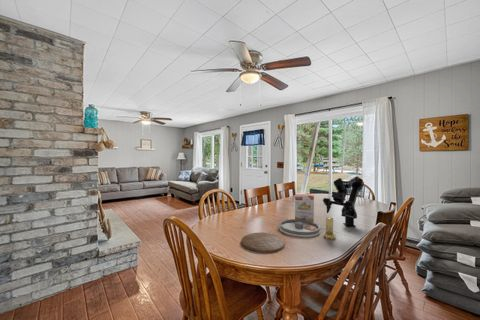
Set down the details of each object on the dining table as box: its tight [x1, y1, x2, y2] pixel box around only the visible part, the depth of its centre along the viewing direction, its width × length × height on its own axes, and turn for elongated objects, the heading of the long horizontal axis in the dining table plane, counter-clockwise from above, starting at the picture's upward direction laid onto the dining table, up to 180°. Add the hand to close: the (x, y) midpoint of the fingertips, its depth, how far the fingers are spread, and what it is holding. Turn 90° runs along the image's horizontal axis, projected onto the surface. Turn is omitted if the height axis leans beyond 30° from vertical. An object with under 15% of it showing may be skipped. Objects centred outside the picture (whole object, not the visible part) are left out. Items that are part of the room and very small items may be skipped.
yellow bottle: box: [323, 216, 337, 240], centre depth 127 cm, size 7×7×12 cm
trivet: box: [241, 232, 286, 254], centre depth 118 cm, size 25×25×2 cm
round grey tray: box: [278, 218, 321, 238], centre depth 141 cm, size 27×27×4 cm
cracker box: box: [294, 193, 315, 223], centre depth 159 cm, size 14×6×21 cm, turn 73°
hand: (334, 214), depth 131 cm, fingers open, 9 cm apart
